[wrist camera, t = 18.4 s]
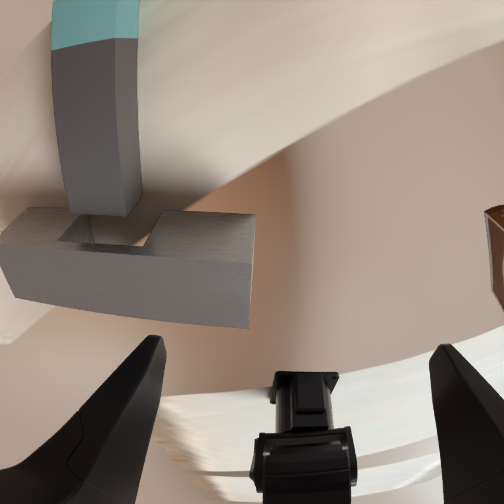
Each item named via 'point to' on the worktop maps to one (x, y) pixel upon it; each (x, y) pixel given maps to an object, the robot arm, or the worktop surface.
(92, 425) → the robot arm
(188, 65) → the worktop surface
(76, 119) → the bar
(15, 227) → the long gray rectangular block
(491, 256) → the food container
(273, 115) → the worktop surface
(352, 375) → the worktop surface
